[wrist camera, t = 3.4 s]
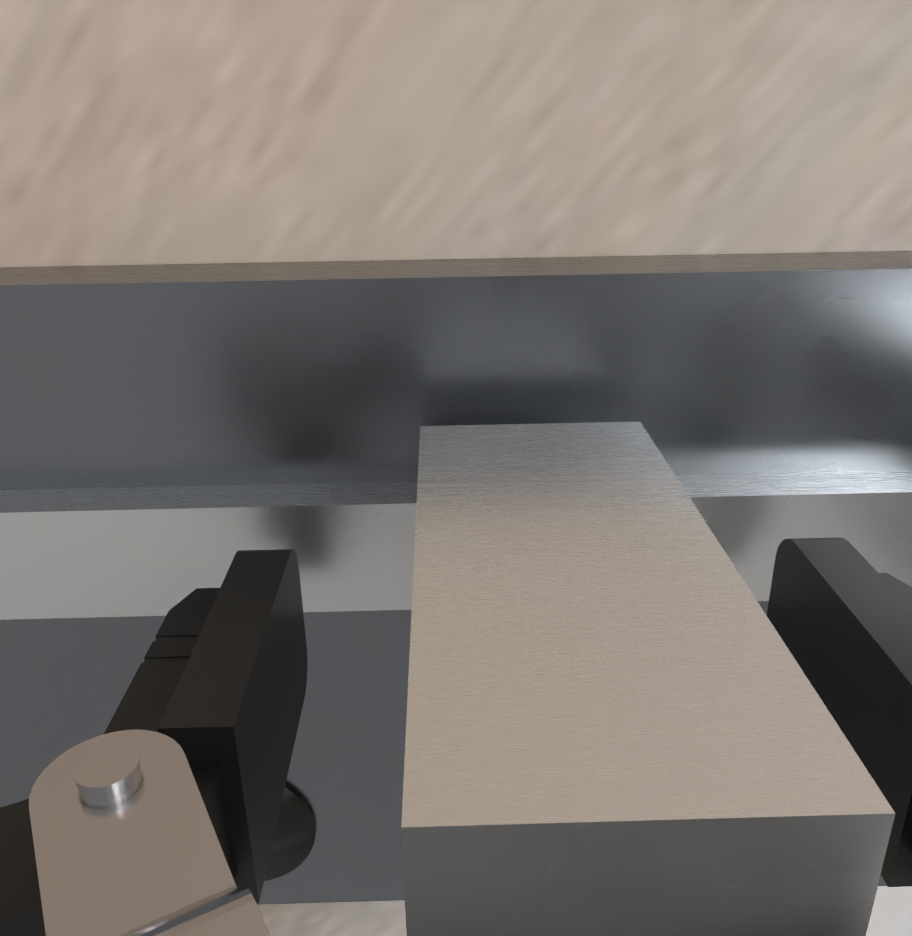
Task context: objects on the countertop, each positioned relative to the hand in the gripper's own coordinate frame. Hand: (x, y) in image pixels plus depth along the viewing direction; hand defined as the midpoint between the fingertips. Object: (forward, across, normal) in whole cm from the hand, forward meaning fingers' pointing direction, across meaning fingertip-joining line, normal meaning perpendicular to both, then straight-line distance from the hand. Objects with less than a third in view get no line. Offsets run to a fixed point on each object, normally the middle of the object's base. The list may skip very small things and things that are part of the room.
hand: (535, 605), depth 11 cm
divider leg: (+1, 0, +2) cm, 2 cm away
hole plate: (+4, -1, +2) cm, 4 cm away
